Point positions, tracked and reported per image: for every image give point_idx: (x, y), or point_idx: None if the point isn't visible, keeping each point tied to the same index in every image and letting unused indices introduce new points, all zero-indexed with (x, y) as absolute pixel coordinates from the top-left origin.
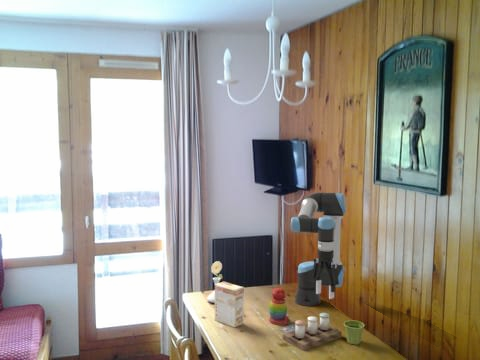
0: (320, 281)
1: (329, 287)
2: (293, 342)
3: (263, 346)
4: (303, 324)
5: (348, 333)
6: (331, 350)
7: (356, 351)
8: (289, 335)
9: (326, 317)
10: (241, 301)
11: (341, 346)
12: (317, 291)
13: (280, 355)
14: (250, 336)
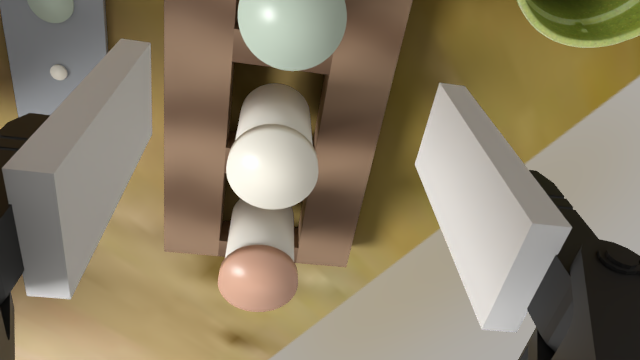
0: (71, 180)
1: (475, 291)
2: None
3: (176, 334)
4: (296, 285)
5: (552, 7)
6: None
7: (602, 47)
8: (202, 237)
9: (336, 43)
10: None
11: (492, 57)
12: (140, 145)
13: (297, 337)
14: (36, 313)
